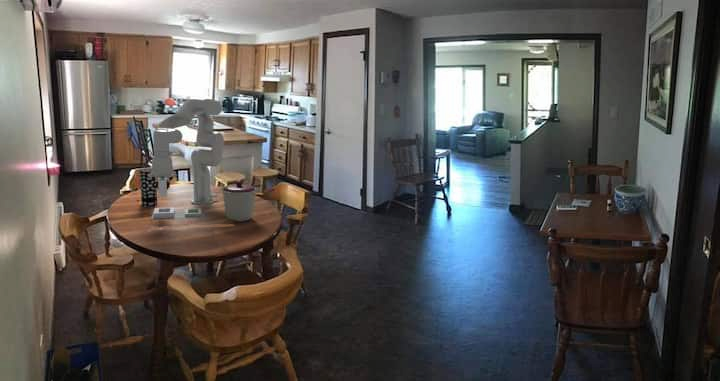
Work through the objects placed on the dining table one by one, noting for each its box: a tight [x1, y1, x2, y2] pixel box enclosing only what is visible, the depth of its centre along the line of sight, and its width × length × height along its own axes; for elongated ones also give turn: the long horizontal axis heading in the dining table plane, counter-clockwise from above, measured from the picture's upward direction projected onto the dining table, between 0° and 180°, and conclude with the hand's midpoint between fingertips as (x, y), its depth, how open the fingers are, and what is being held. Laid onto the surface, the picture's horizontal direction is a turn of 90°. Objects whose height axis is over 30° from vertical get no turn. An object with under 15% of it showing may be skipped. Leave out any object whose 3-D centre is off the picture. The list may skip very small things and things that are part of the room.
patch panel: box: [150, 206, 205, 222], centre depth 281 cm, size 26×14×4 cm, turn 107°
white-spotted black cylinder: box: [139, 168, 158, 208], centre depth 301 cm, size 8×8×20 cm
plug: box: [157, 176, 168, 198], centre depth 276 cm, size 4×6×10 cm, turn 17°
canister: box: [221, 180, 258, 223], centre depth 280 cm, size 18×18×21 cm
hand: (162, 188), depth 276 cm, fingers closed on plug, 4 cm apart
